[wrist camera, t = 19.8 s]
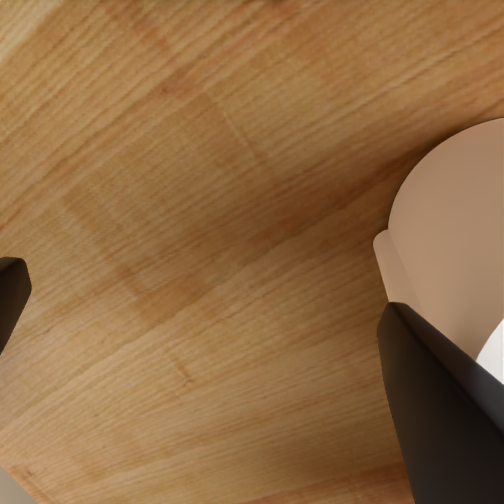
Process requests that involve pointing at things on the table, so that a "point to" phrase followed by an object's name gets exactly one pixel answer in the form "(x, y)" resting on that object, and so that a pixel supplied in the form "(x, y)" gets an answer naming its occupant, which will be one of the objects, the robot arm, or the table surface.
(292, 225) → the table surface
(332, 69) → the table surface
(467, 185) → the bracket
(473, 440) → the robot arm
